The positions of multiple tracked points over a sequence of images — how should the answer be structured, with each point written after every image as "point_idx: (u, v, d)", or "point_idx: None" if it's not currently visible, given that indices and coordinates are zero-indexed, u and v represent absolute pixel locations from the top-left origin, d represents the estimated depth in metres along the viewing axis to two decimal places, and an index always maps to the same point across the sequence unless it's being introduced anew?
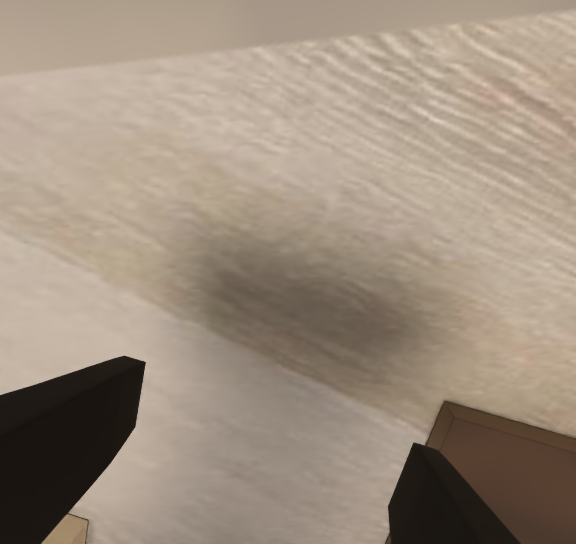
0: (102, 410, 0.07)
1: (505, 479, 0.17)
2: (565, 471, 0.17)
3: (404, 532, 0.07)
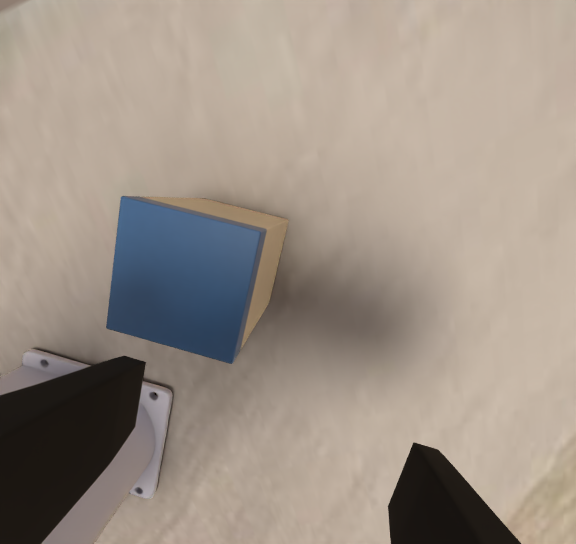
0: (102, 410, 0.07)
1: None
2: None
3: (404, 532, 0.07)
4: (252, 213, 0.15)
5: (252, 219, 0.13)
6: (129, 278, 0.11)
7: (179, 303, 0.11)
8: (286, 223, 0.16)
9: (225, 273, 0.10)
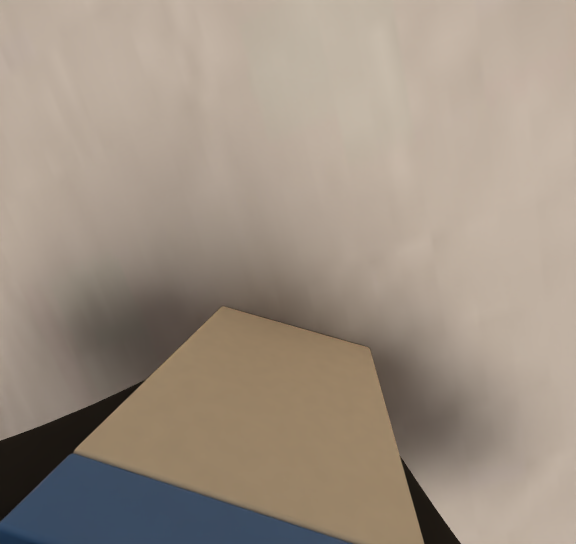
0: None
1: None
2: None
3: None
4: (317, 359, 0.08)
5: (347, 438, 0.06)
6: None
7: None
8: None
9: None
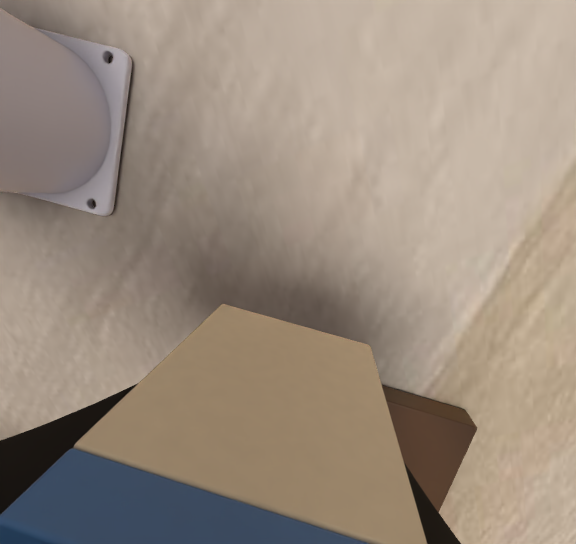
0: None
1: None
2: None
3: None
4: (318, 357, 0.08)
5: (348, 435, 0.06)
6: None
7: None
8: None
9: None
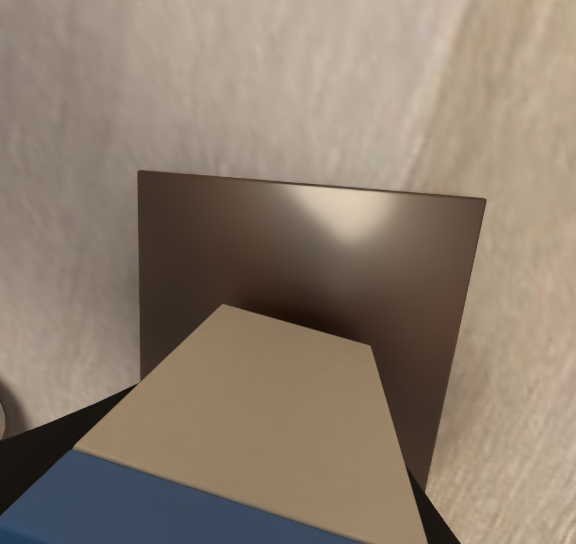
0: None
1: (389, 298, 0.12)
2: (418, 367, 0.12)
3: None
4: (318, 357, 0.08)
5: (348, 436, 0.06)
6: None
7: None
8: None
9: None
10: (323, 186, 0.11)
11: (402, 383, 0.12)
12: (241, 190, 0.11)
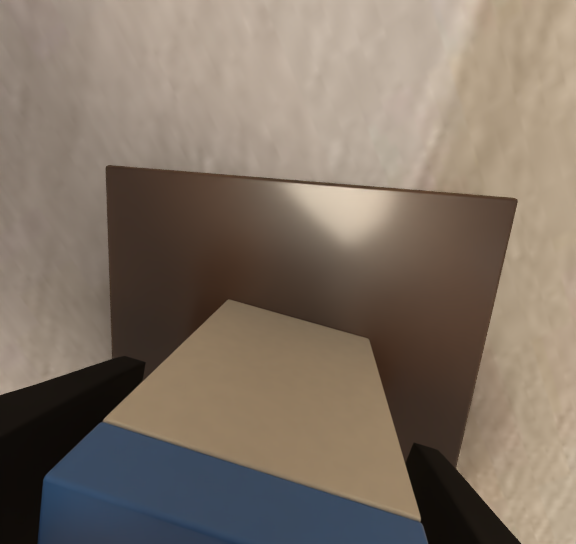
0: (102, 410, 0.07)
1: (400, 315, 0.10)
2: (433, 395, 0.10)
3: None
4: (319, 348, 0.09)
5: (347, 416, 0.06)
6: None
7: None
8: None
9: None
10: (323, 184, 0.09)
11: (415, 413, 0.10)
12: (226, 189, 0.10)
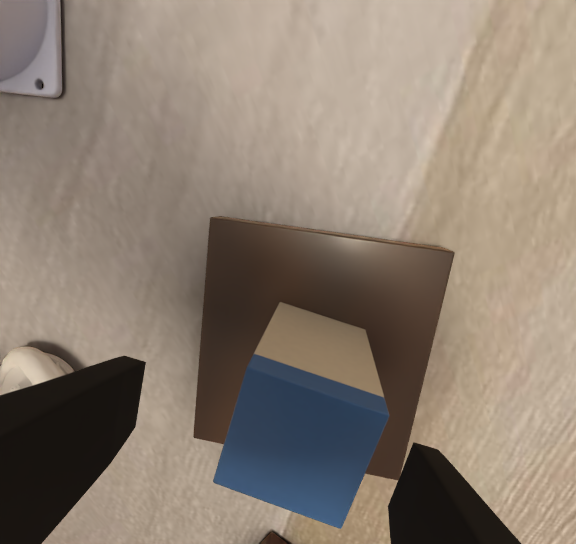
0: (102, 410, 0.07)
1: (384, 316, 0.16)
2: (403, 366, 0.17)
3: (404, 532, 0.07)
4: (337, 332, 0.15)
5: (354, 363, 0.13)
6: (244, 441, 0.11)
7: (294, 469, 0.11)
8: None
9: (346, 448, 0.10)
10: (342, 237, 0.16)
11: (391, 377, 0.17)
12: (284, 236, 0.16)
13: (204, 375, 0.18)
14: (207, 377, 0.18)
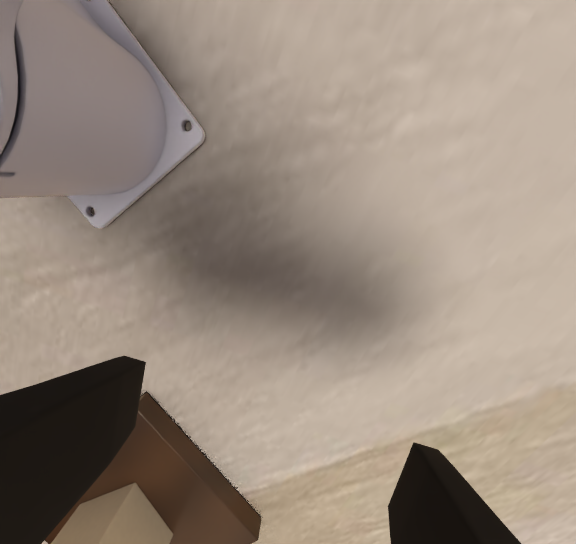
0: (102, 410, 0.07)
1: (191, 536, 0.22)
2: None
3: (404, 532, 0.07)
4: None
5: None
6: None
7: None
8: None
9: None
10: (205, 484, 0.20)
11: None
12: (172, 455, 0.20)
13: None
14: None
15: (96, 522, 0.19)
